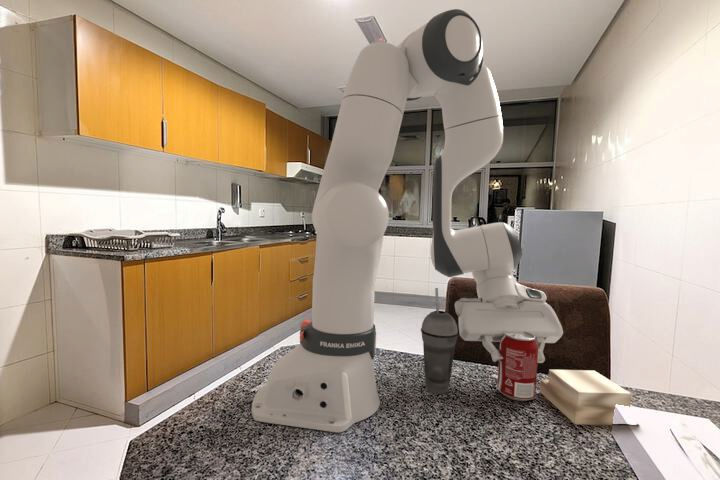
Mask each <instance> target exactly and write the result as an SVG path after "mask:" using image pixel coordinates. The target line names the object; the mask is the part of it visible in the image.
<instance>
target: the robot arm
mask: <svg viewBox="0 0 720 480" xmlns="http://www.w3.org/2000/svg"><path fill="white" fill-rule="evenodd" d="M482 37H483V36H482V34H481V30H480V27H479V25H478V24H477V22H476V21H475V19H474V18H473V17H472V16H471V15H470V14H469V13H467V12H466V11H464V10H462V9H458V8H454V9H449V10H445V11H443V12H440V13H438V14H437V15H435V16H433V17H431V19H429V21H428V22H427V23H425V24H423V25H422V26H420V27H419V28H418V29H416V30H414V31H413V32H411V33H410V34H409V35H407V37H405V38H404V39H403V40H402V41H401V42H400V43H399V44H398V45H397V46H396V45H394V44H392V43H389V42H384V41H375V42H371V43H369V44H367V45H366V46H364V47H363V48H362V49H361V51H359V53H358V56H357V58H356V60H355V62H354V64H353V67H352V68H351V71H350V73H349V76H348V79H347V81H346V85H345V88H344V92H343V96H342V99H341V104H340V108H339V112H338V115H337V119H336V123H335V127H334V130H333V131H334V132H333V135H332V139H331V140H332V141H331V142H330V147H329V151H328V155H327V158H326V161H325V163H324V168H323V171H322V176H321V178H320V181H319V185H318V189H317V193H316V196H315V200H314V203H313V207H312V213H311V220H312V221H311V222H312V225H313V228H314V230H315V232H316V240H315V241H316V242H315V255H314V256H315V258H314V267H313V276H312V300H311V305H312V306H311V320H310V319H309V318H308V319H306V318H305V319H304V320H303V321H302V322H301V323H300V330H299V344H298V345H297V346H295V347H294V348H292V349H290V351H289V350H288V352H287V353H285V354H283V356H281V357H280V358H278V360H277V361H276V362H275V363H274V364H273V366H272V368H271V369H270V371H269V374H268V377H267V380H266V382H265V383H263V384H262V386H261V387H260V388H259V389H258V390H257V392H256V393H255V395H254V397H253V400H252V403H251V410H250V411H251V412H250V413H251V415H252V418H253V420H254V421H256V422H260V423H262V422H263V423H268V424H273V425H281V426H290V427H297V428H304V429H311V430H317V431H324V432H330V433H342V432H345V431H347V430H348V429H349V428H351V426H352V425H354V424H355V423H358V422H360V421H364V420H366V419H367V418H369V417H371V416H373V415H374V414H375V413H376V412H377V411H378V409H379V407H380V405H381V401H380V400H381V399H380V396H379V393H378V388H377V381H376V374H375V365H374V363H375V361H374V359H375V355H376V349H377V347H376V346H377V331H376V330H377V329H376V325H375V323H374V320H375V319H374V318H375V317H374V316H375V296H376V295H375V291H376V279H377V274H378V267H379V263H380V259H381V253H382V247H383V241H384V236H385V235H384V234H385V232H386V231H387V227H388V226H389V225H388V224H389V218H390V215H389V212H390V211H389V208H388V204H387V202H386V200H385V199H384V197H383V195H381V194H380V192H379V190H380V188H381V186H382V184H383V183H382V182H383V181H384V178H385V176H386V173H387V171H388V169H389V167H390V165H391V164H392V161H393V158H394V153H395V150H396V149H395V148H396V146H397V141H398V138H399V133H400V129H401V125H402V121H403V118H404V117H403V116H404V112H405V108H406V102H408V101H409V102H410V101H417V100H419V99H420V98H422V97H424V96H428V95H430V94H433V96H434V98H436V100H437V102H438V103H439V106H440V108H441V113H442V114H441V115H442V122H443V123H442V124H443V130H444V138H445V139H444V145H443V146H444V147H443V149H442V153H441V155H439V156H438V157H437V158H436V159H435V160H434V165H433V170H432V171H433V173H432V238H431V245H430V259H431V263H432V266H433V267H434V270H435V271H437V272H438V273H439V274H441V275H443V276H444V277H448V278H453V277H456V276H457V277H458V276H461V275H465V274H467V273H471V274H472V277H473V280H475V282H476V283H475V284H476V293H477V297H478V298H477V297H474V298H473V297H472V298H468V297H467V298H466V297H461V298H460V299H457V300H456V301H455V302H454V309H455V310H454V311H455V313H456V315H457V316H458V331H459V332H458V334H459V336H460V337H461V339H462V340H464V341H465V342H466V341H468V342H482V345H483V348H485V350H486V351H487V352H489V354H490V355H491V360H492V362H493V363H499V362H501V361H502V360H503V355H502V352H501V350H499V349H497V348H496V346H495V345H494V343H493V342H499V343H500V339H501V338H502V337H503V336H504V331H506V333H513V334H524V333H525V332H529V333H531V334H533V335H534V336H535V341H536V343H537V345H538V362H537V364H543V363H544V362H545V361H546V357H545V355H544V349H545V346H546V344H555V343H557V342H558V341H559V340H560V339H561V338H562V336H563V334H564V331H563V326H562V324H561V322H560V320H559V318H558V315H557V313H556V312H555V309H554V308H552V306H551V305H550V304H548V303H547V302H546V301H547V300H548V299H547V295H546V293H545V292H544V291H542V290H538V289H535V288H531V287H529V286H528V287H527V286H525V285H523V284H520V283H518V281H517V279H516V278H515V277H514V274H513V270H515V269H516V268H517V266H518V264H519V263H520V262H521V260H522V257H523V248H522V244H521V242H520V239H519V237H518V235H517V232H516V230H515V228H513V227H512V226H511V225H509V224H507V223H505V222H502V221H500V222H492V223H487V224H483V225H478V226H477V225H476V226H474V227H473V226H472V227H468V228H462V229H453V228H452V200H453V199H452V198H453V197H452V196H453V192H454V190H455V188H457V186H458V185H459V183H461V182H462V181H463V180H464V179H466V178H467V177H469V176H470V175H473V174H474V173H475V172H477V171H478V170H480V169H482V168H483V167H486V165H488V164H489V163H490V162H491V161H492V160H493V159H494V158H495V157H496V156H497V154H498V153H499V151H500V150H501V148H502V146H503V143H504V125H503V117H502V111H501V106H500V105H501V104H500V99H499V95H498V92H497V87H496V85H495V82H494V79H493V76H492V73H491V71H490V69H489V68H488V67H487V66H486V65H485V64H484V46H483V45H484V44H483V43H484V42H483V38H482ZM524 331H525V332H524Z"/></svg>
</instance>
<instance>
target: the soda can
mask: <svg viewBox="0 0 720 480" xmlns="http://www.w3.org/2000/svg"><path fill="white" fill-rule="evenodd" d="M524 332H525V331H524ZM498 350H501V352H502V355H503V360H502V361H501V362H498V368H497V369H498V370H497V371H498V372H497V387H496V388H497V390H498V392H500V394H502V395H503V396H504V397H506V398H508V399H510V400H513V401H516V402H517V401H518V402H528V401H530V400H534V399H535V398H536V393H537V392H536V391H537V377H538V376H537V375H538V374H537V373H538V363H537V362H538V345H537V343H536V341H535V336H534V335H533V334H531V333H529V332H525V333H524V334H513V333H506V331H504V336H503V337H502V338H501V339H500V342H499V349H498Z"/></svg>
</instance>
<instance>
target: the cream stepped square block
mask: <svg viewBox="0 0 720 480" xmlns="http://www.w3.org/2000/svg"><path fill="white" fill-rule="evenodd" d="M539 393H540V394H542V395H543V396H544V397H545V399H547V400H548V401H549V402H551V404H552V405H554V407H556V408H557V409H558V410H559V411H560V412H561V414H563V415H564V416H566V417H567V418H568V419H569V420H570V421H571V422H572V423H573V424H574V425H597V426H613V425H612V424H613V416H614V409H615V405H616V404H618V405H624V406H629V407H635V406H634V405H632V404H631V403H632V402H631V399H632V393H631V392H630V391H628V390H627V389H625V388H623V387H621V386H620V385H619V384H617V383H615V382H613V381H612V380H610V379H609V378H607V377H606V376H604V375H603V374H600V372H597V371H596V370H590V369H589V370H588V369H587V370H585V369H584V370H583V369H550V368H549V369H548V379H540V381H539Z"/></svg>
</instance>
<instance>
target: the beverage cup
mask: <svg viewBox="0 0 720 480" xmlns="http://www.w3.org/2000/svg"><path fill="white" fill-rule="evenodd" d="M434 292H435V310H433V311H431V312H429V313H428V314H427V315H426V316H425V317H424V319H423V320H422V323H421V328H420V332H421V340H422V342H423V343H422V345H423V346H422V347H423V348H422V349H423V365H424V366H423V368H424V370H423V371H424V382H425V384H424V385H425V389H426V390H427V392H430V393H432V394H438V395H439V394H442V395H443V394H446V393H448V392H449V387H450V383H451V375H452V370H453V362H454V355H455V348H456V344H457V340H458V335H459V332H458V331H459V328H458V325H457V322H456V320H455V319H454V317H453V316H452V315H451V314H450V313H448V312H446V311H444V310H440V307H439V306H440V305H439V303H440V302H439V288H438V287H435V289H434Z"/></svg>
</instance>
